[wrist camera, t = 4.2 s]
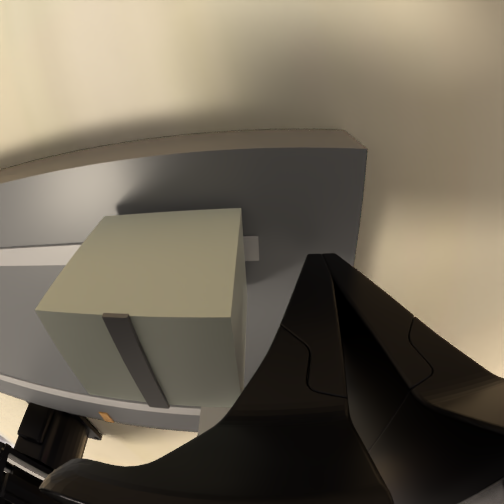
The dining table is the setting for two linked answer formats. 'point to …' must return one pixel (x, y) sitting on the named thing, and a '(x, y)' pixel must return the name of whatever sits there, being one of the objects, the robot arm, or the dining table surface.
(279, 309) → the console
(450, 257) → the dining table surface
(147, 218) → the sage fader
